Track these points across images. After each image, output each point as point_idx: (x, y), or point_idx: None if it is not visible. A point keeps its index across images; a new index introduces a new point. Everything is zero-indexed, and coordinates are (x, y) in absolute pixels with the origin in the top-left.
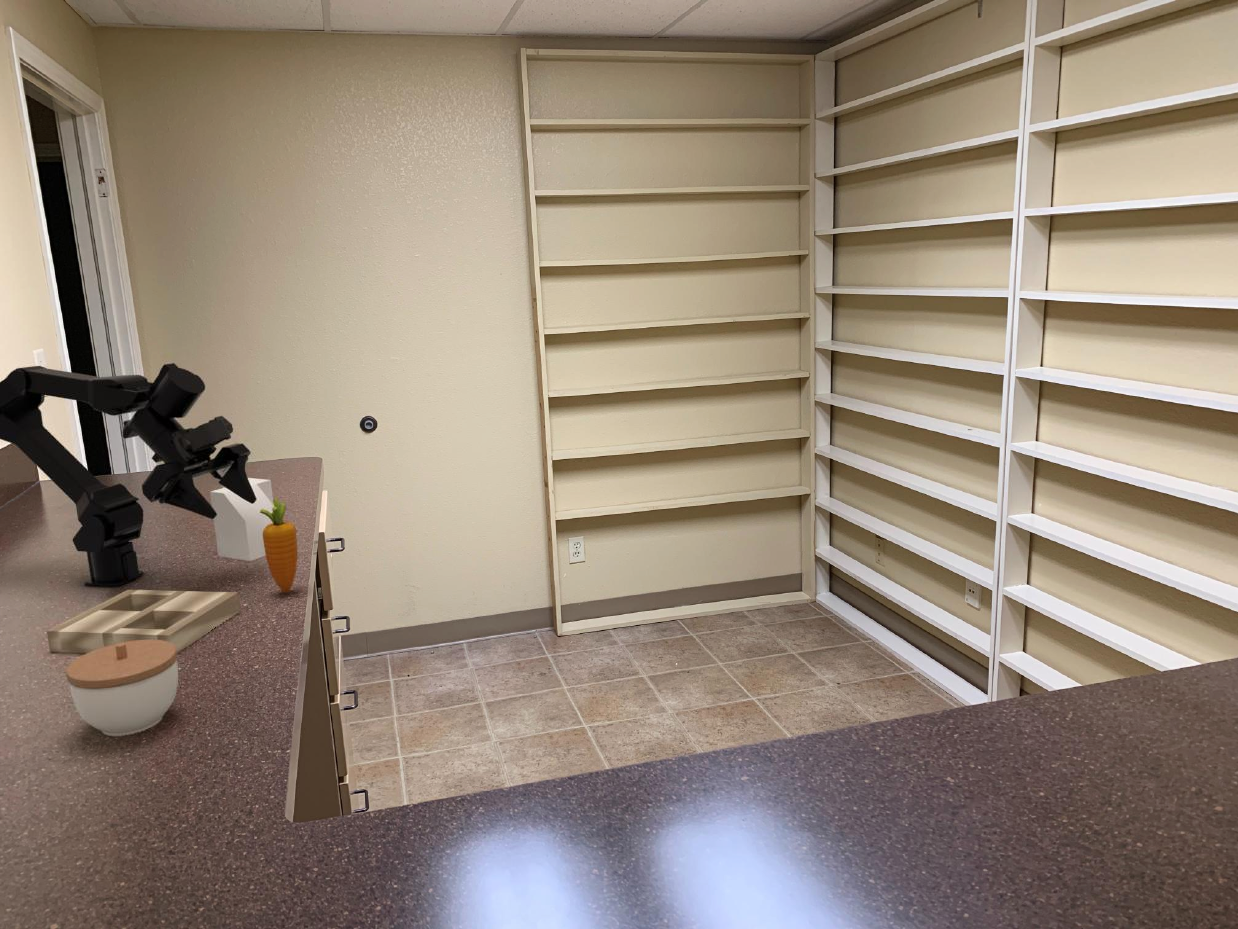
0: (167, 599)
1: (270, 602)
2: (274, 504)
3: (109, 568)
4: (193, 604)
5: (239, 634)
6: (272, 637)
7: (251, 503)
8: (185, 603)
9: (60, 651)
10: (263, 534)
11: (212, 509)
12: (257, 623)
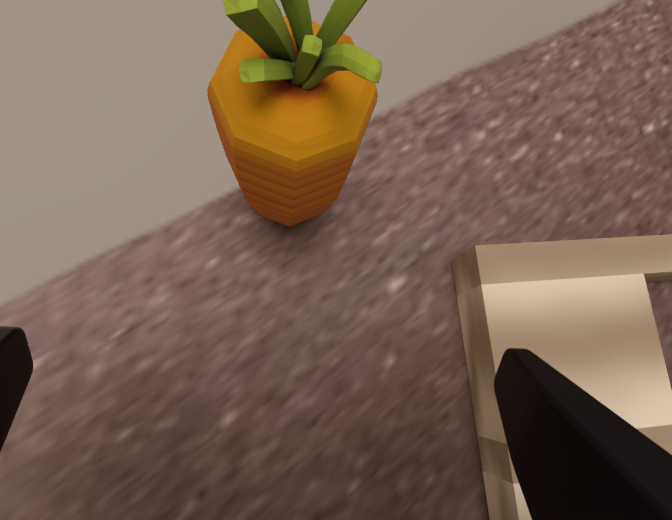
0: None
1: (365, 217)
2: (266, 16)
3: None
4: (601, 321)
5: (580, 167)
6: (571, 81)
7: (29, 374)
8: (602, 355)
9: None
10: (357, 146)
11: (545, 372)
12: (510, 164)
